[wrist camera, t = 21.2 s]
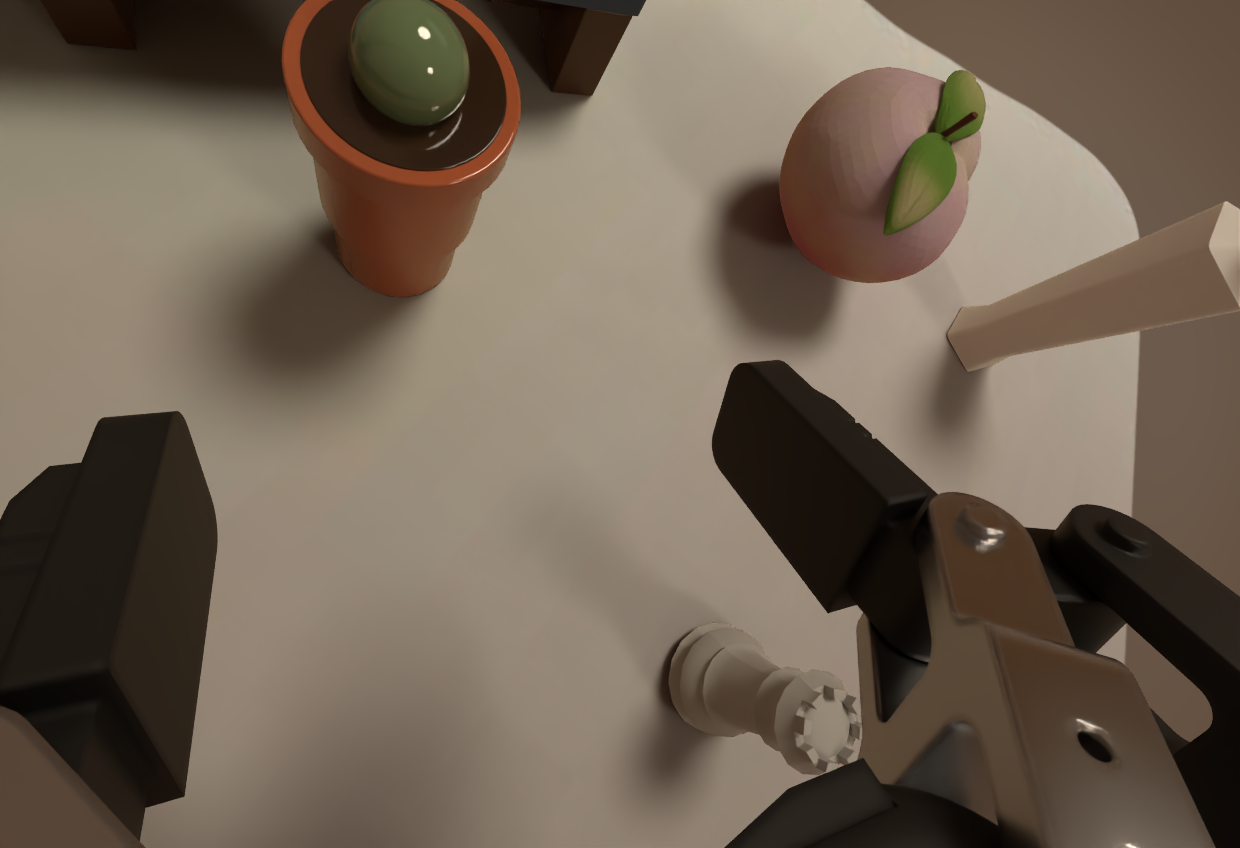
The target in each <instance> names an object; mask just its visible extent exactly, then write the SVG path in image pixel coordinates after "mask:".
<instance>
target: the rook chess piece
mask: <svg viewBox="0 0 1240 848" xmlns="http://www.w3.org/2000/svg"><path fill="white" fill-rule="evenodd" d="M668 682H669V687H670V693H671V698H672V703H673V705H674V706H675V708H676V709H677V711H678V713H679V714H680V716H681V717H682V719H683V720H684V721H686V722H687V723H689V724H690V725H692V726H693V727H695V728H696V729H698V730H702V731H704V732H706V733H707V734H709V735H714V736H725V737H734V736H736V735H739V734H743V733H746V732H752V733H755V734H759V735H760V736H761V737H762V739H763V741H764V742H765V743H766V744H767V745H769V746H770V747H772V748H773V749H775V750H776V751H780V752H781V753H782V755H783V757H784V758H785V760H786V762H787V763H788V765H790V766H791V767H793V768H794V769H796V770H797V771H799V772H800V773H802V774H811V775H820V774H822V773H824V772H825V773H828V772H830V771H832V770H835V769H837V768H838V764H840V763H841V764H843V765H847V764H849V763H852V762H854V761H856V760H857V758H858V754H857V753H856V752H855V751H853V750H851V748H852V746H853V743H854V741H855V738H857V739H859V740H861V741H862V724H861V723H859V722H857V719H856V715H858V714H860V713H861V705H860V703H859V701H858V699H857V698H855V697H853V696H850V694H849V692H848V691H847V689H846V687H845V686H844V684H843V682H842V681H841V680H839V679H838V678H837V677H835V676H834V675H832V674H831V673H830V672H827V671H820V670H811V671H808V672H805V673H804V672H803V671H801V670H800V669H797V668H790V667H785V668H782V669H780V668H779V667H777V666H775V665H774V664H772V663H771V662H770V660H769V658H768V656H767V655H766V653H765V651H764V650H763V648H762V646H761V645H760V643H759V642H757V641H756V640H755V639H754V638H752V637H751V636H750V635H748V634H747V633H745V632H744V631H743V630H739V629H736V628H735V627H733V626H732V625H728V624H722V623H716V622H713V623H710V624H707V625H703V626H700V627H697V628H696V629H694V630H693V631H692V632H691V633H690V634H689V635H688V636H686V637H685V638H684V639H683V640H682V641H681V643H680V645H679V647H678V649H677V650H676V652H675V654H674V656H673V658H672V661H671V667H670V674H669V680H668Z"/></svg>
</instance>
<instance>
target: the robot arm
mask: <svg viewBox="0 0 1240 848" xmlns="http://www.w3.org/2000/svg"><path fill="white" fill-rule="evenodd" d="M712 451H713V456H714V459H715V462H716V464H717V466H718V468H719V470H720V471H721V472H722V474H723V475H724V476H725V478H726V479H727V480H728V482H729V483H730V484H731V486H732V487H733V488H734V490H735V491H736V492H737V494H738V495H739V496H740V497H741V499H742V500H743V501H744V503H745V504H746V505H747V507H748V508H749V509H750V511H751V512H752V513H753V515H754V516H755V517H756V519H757V520H758V521H759V523H760V524H761V525H762V527H763V528H764V529H765V531H766V532H767V533H768V535H769V536H770V537H771V539H772V540H773V541H774V543H775V544H776V545H777V547H778V548H779V549H780V550H781V552H782V553H783V554H784V556H785V557H786V558H787V560H788V561H789V562H790V564H791V565H792V566H793V568H794V569H795V570H796V572H797V573H798V574H799V576H800V577H801V578H802V580H803V581H804V582H805V584H806V585H807V586H808V588H809V589H810V590H811V592H812V593H813V594H814V596H815V597H816V598H817V599H818V601H819V602H820V603H821V605H822V606H823V607H824V609H825V610H826V611H827V613H830V612H833V611H837V610H840V609H844V608H847V607H851V606H854V605H858V607H859V608H860V609H861V610H862V611H863V614H862V616H861V617H860V619H859V621H858V623H857V629H856V634H857V651H858V668H859V685H860V702H861V719H862V741H861V747H860V752H859V755H858V758H857V760H856V761H854V762H852V763H849V764H847V765H844V766H842V767H840V768H837V769H835V770H832V771H830V772H828V773H825V774H823V775H820V776H818V777H815V778H813V779H811V780H808V781H806V782H803V783H801V784H799V785H796V786H794V787H791V788H789V789H787V790H786V791H785V792H784V793H783V794H782V795H781V796H780V797H779V798H778V799H777V800H776V801H774V802H773V803H772V804H771V805H770V806H769V807H768V808H767V809H766V810H765V811H764V812H763V813H761V814H760V815H759V816H758V817H757V818H756V819H755V820H754V821H753V822H752V823H751V824H750V825H748V826H747V827H746V828H745V829H744V830H743V831H742V832H741V833H740V834H739V835H738V836H737V837H735V838H734V839H733V840H732V841H731V842H730V843H729V844H728V845H727V846H726V847H725V848H1240V597H1239V596H1238V595H1237V594H1235V593H1234V592H1233V591H1231V590H1230V589H1229V588H1227V587H1226V586H1225V585H1223V584H1222V583H1221V582H1220V581H1218V580H1217V579H1216V578H1214V577H1213V576H1211V575H1210V574H1209V573H1208V572H1206V571H1205V570H1204V569H1203V568H1201V567H1200V566H1199V565H1197V564H1196V563H1195V562H1193V561H1192V560H1191V559H1189V558H1188V557H1187V556H1185V555H1184V554H1183V553H1181V552H1180V551H1179V550H1178V549H1176V548H1175V547H1174V546H1172V545H1171V544H1170V543H1168V542H1167V541H1166V540H1164V539H1163V538H1162V537H1160V536H1159V535H1158V534H1157V533H1155V532H1154V531H1152V530H1151V529H1149V528H1148V527H1147V526H1145V525H1144V524H1142V523H1140V522H1138V521H1137V520H1135V519H1133V518H1131V517H1129V516H1127V515H1125V514H1123V513H1121V512H1118V511H1115V510H1113V509H1110V508H1106V507H1103V506H1097V505H1089V504H1086V505H1079V506H1076V507H1074V508H1073V509H1072V510H1071V511H1070V513H1069V514H1068V515H1067V516H1066V518H1065V519H1064V520H1063V521H1062V523H1061V524H1060V525H1059V526H1058V528H1057V529H1056V530H1050V529H1038V528H1026V527H1023V526H1022V525H1021V524H1020V523H1019V522H1018V521H1017V520H1016V519H1015V518H1014V517H1013V516H1011V515H1010V514H1009V513H1007V512H1006V511H1004V510H1003V509H1001V508H1000V507H998V506H996V505H994V504H992V503H990V502H988V501H986V500H984V499H981V498H979V497H976V496H973V495H969V494H964V493H958V492H947V493H941V494H939V495H938V494H937V493H936V492H935V491H934V490H932V489H931V488H930V487H929V486H928V485H927V484H926V483H925V482H924V481H923V480H921V479H920V478H919V477H918V476H917V475H916V474H915V473H914V472H913V471H912V470H910V469H909V468H908V467H907V466H906V465H905V464H904V463H903V462H902V461H901V460H899V459H898V458H897V457H896V456H895V455H894V454H893V453H892V452H891V451H890V450H888V449H887V448H886V447H885V446H884V445H883V444H882V443H881V442H880V441H879V440H877V439H872V434H871V433H870V432H869V431H868V430H866V429H865V428H864V427H863V426H862V425H861V424H860V423H855V419H854V418H853V417H852V416H851V415H850V414H849V413H848V412H847V411H846V410H844V409H843V408H842V407H841V406H840V405H839V404H838V403H837V402H836V401H835V400H833V399H831V398H829V397H827V396H826V395H824V394H822V393H820V392H819V391H817V390H815V389H814V388H812V387H811V386H810V385H809V384H808V383H807V382H806V381H805V380H804V379H803V378H802V377H801V376H799V375H798V374H797V373H796V372H795V371H794V370H793V369H792V368H791V367H790V366H789V365H788V364H786V363H785V362H783V361H781V360H772V361H761V362H749V363H740V364H738V365H737V366H736V367H735V368H734V369H733V371H732V373H731V375H730V378H729V381H728V385H727V388H726V391H725V395H724V398H723V402H722V405H721V408H720V412H719V415H718V418H717V422H716V425H715V429H714V432H713V436H712ZM216 554H217V523H216V515H215V510H214V505H213V502H212V498H211V495H210V492H209V489H208V486H207V483H206V480H205V477H204V474H203V471H202V468H201V465H200V462H199V459H198V456H197V453H196V450H195V447H194V444H193V441H192V438H191V435H190V432H189V429H188V426H187V423H186V421H185V419H184V417H183V416H182V414H181V413H180V412H178V411H173V412H162V413H150V414H139V415H127V416H116V417H104V418H102V419H100V420H99V421H98V423H97V425H96V427H95V430H94V432H93V435H92V437H91V440H90V442H89V445H88V447H87V450H86V452H85V455H84V457H83V460H82V462H81V463H74V464H65V465H56V466H49V467H48V468H47V469H46V470H44V471H43V472H42V473H41V474H40V475H39V476H38V477H36V478H35V479H34V480H33V481H32V482H31V483H29V484H28V485H27V486H26V487H25V488H24V489H23V490H21V491H20V492H19V493H18V494H17V495H16V496H14V497H13V498H12V499H11V500H10V501H9V503H8V505H7V507H6V509H5V511H4V513H3V515H2V517H1V519H0V848H145V847H144V846H143V845H142V844H141V843H140V842H139V841H140V836H141V830H142V824H143V818H144V813H145V808H146V807H150V806H153V805H157V804H160V803H164V802H167V801H171V800H174V799H178V798H181V797H184V796H185V789H186V781H187V773H188V766H189V758H190V751H191V743H192V736H193V728H194V720H195V713H196V705H197V698H198V690H199V682H200V675H201V667H202V660H203V652H204V645H205V637H206V629H207V622H208V614H209V607H210V599H211V591H212V584H213V576H214V569H215V561H216ZM1126 623H1127V624H1128V625H1130V626H1131V627H1132V628H1133V629H1134V630H1135V631H1136V632H1137V633H1138V634H1140V635H1141V636H1142V637H1143V638H1144V639H1145V640H1146V641H1147V642H1148V643H1150V644H1151V645H1152V646H1153V647H1154V648H1155V649H1156V650H1157V651H1158V652H1159V653H1160V654H1162V655H1163V656H1164V657H1165V658H1166V659H1167V660H1168V661H1169V662H1170V663H1172V664H1173V665H1174V666H1175V667H1176V668H1177V669H1178V670H1179V671H1180V672H1181V673H1183V674H1184V675H1185V676H1186V677H1187V678H1188V679H1189V680H1190V681H1191V682H1193V683H1194V684H1195V685H1196V686H1197V687H1198V688H1199V689H1200V690H1201V691H1202V692H1203V694H1204V695H1205V696H1206V698H1207V700H1208V701H1209V703H1210V706H1211V708H1212V713H1213V720H1212V724H1211V726H1210V728H1209V729H1208V730H1206V731H1205V732H1204V733H1202V734H1201V735H1200V736H1198V737H1197V738H1196V739H1194V740H1193V741H1192V742H1188V741H1186V740H1185V739H1183V738H1182V737H1180V736H1179V735H1177V734H1176V733H1175V732H1174V731H1173V730H1172V729H1171V728H1170V727H1169V726H1168V725H1167V724H1166V723H1165V722H1164V721H1163V720H1162V719H1161V718H1160V717H1159V716H1158V715H1157V714H1156V713H1155V712H1154V711H1153V710H1152V709H1151V708H1150V707H1149V706H1148V704H1147V702H1146V700H1145V697H1144V695H1143V693H1142V691H1141V689H1140V687H1139V685H1138V683H1137V681H1136V679H1135V677H1134V676H1133V674H1132V673H1131V672H1130V670H1129V669H1128V668H1127V667H1126V666H1125V665H1124V664H1123V663H1121V662H1119V661H1118V660H1116V659H1113V658H1110V657H1107V656H1103V655H1100V654H1097V653H1096V652H1097V651H1098V650H1099V649H1100V648H1101V647H1102V646H1103V645H1104V644H1105V643H1106V642H1107V641H1108V640H1109V639H1110V638H1111V637H1112V636H1113V635H1114V634H1115V633H1117V632H1118V631H1119V630H1120V629H1121V628H1122V627H1123V626H1124V625H1125V624H1126Z"/></svg>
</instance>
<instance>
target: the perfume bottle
mask: <svg viewBox="0 0 1240 848" xmlns="http://www.w3.org/2000/svg"><path fill="white" fill-rule="evenodd" d="M1237 311H1240V209H1238V208H1236V207H1235V206H1233V205H1232V204H1230V203H1229V202H1227V201H1226V202H1223V203H1221V204H1219V205H1217V206H1214V207H1212V208H1210V209H1207V210H1205V211H1203V212H1200V213H1198V214H1196V215H1194V216H1191V217H1189V218H1187V219H1184V220H1182V221H1180V222H1178V223H1176V224H1173V225H1171V226H1169V227H1166V228H1164V229H1162V230H1160V231H1157V232H1155V233H1153V234H1150V235H1148V236H1146V237H1143V238H1141V239H1139V240H1137V241H1134V242H1132V243H1130V244H1127V245H1125V246H1123V247H1121V248H1118V249H1116V250H1114V251H1111V252H1109V253H1107V254H1105V255H1102V256H1100V257H1098V258H1095V259H1093V260H1091V261H1089V262H1086V263H1084V264H1082V265H1079V266H1077V267H1075V268H1073V269H1070V270H1068V271H1066V272H1064V273H1061V274H1059V275H1057V276H1054V277H1052V278H1050V279H1048V280H1045V281H1043V282H1041V283H1038V284H1036V285H1034V286H1032V287H1029V288H1027V289H1025V290H1022V291H1020V292H1018V293H1016V294H1013V295H1011V296H1009V297H1006V298H1004V299H1002V300H1000V301H997V302H995V303H993V304H990V305H984V306H971V307H962V308H961V310H960V312H959V313H958V315H957V317H956V319H955V321H954V322H953V324H952V326H951V328H950V330H949V331H948V334H947V336H948V339H949V341H950V343H951V344H952V346H953V348H954V350H955V351H956V353H957V355H958V357H959V359H960V360H961V362H962V364H963V366H964V367H965V369H966V370H967V371H974V370H977V369H981V368H984V367H988V366H992V365H994V364H996V363H998V362H1000V361H1001V360H1003V359H1005V358H1007V357H1009V356H1013V355H1018V354H1023V353H1028V352H1033V351H1038V350H1044V349H1049V348H1054V347H1059V346H1064V345H1069V344H1074V343H1079V342H1084V341H1089V340H1094V339H1100V338H1105V337H1110V336H1115V335H1120V334H1125V333H1130V332H1135V331H1140V330H1145V329H1150V328H1156V327H1161V326H1165V325H1171V324H1175V323H1181V322H1186V321H1191V320H1196V319H1201V318H1206V317H1211V316H1216V315H1222V314H1226V313H1232V312H1237Z"/></svg>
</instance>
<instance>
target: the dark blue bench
mask: <svg viewBox="0 0 1240 848" xmlns="http://www.w3.org/2000/svg"><path fill="white" fill-rule="evenodd" d="M40 1H41V3H42V4H43V6H44V8H45V9H46V11H47V12H48V14H49V15H50V17H51V18H52V20H53V22H54V23H55V25H56V26H57V28H58V29H59V31H60V32H61V34H62V36H63V37H64V39H65V40H66V42H67V43H71V44H81V45H91V46H101V47H111V48H120V49H130V50H136V41H135V30H134V18H133V7H132V0H40ZM488 1H495V2H501V3H508V4H514V5H521V6H527V7H534V8H539V11H540V18H541V24H542V30H543V37H544V43H545V50H546V56H547V62H548V69H549V75H550V81H551V88H552V91H553V92H560V93H570V94H580V95H590V96H591V95H593V93H594V91H595V89H596V87H597V85H598V83H599V81H600V79H601V77H602V75H603V73H604V71H605V69H606V67H607V65H608V63H609V62H610V60H611V58H612V56H613V54H614V52H615V50H616V48H617V46H618V44H619V42H620V40H621V38H622V36H623V34H624V32H625V30H626V28H627V26H628V24H629V22H630V20H631V18H632V16H638V15H639V13H640V11H641V9H642V7H643V5H644V3H645V1H646V0H488Z"/></svg>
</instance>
